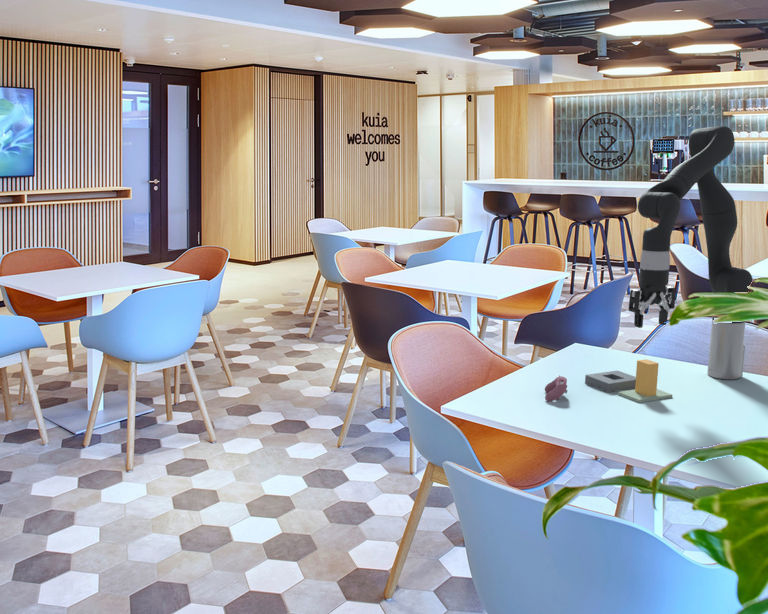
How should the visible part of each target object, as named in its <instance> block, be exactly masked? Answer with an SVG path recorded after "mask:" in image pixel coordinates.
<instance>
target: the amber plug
mask: <svg viewBox="0 0 768 614" xmlns="http://www.w3.org/2000/svg"><path fill="white" fill-rule="evenodd" d="M635 371H636V372H635V377H636V383H635V388H634V390H635V392H637V393H640V394H642V395H645V396H652V395H656V391H657V389H658V388H657V387H658V379H659V378H658V376H659V362H656V361H653V360H651V359H639V360H638V359H637V360H636V370H635Z"/></svg>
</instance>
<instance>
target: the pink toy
mask: <svg viewBox="0 0 768 614" xmlns="http://www.w3.org/2000/svg"><path fill="white" fill-rule="evenodd" d="M567 383H568V379H567V377H564V376H560V374H559V376H557V377H556V378H555V379H553V380H552V381H551V382H549V383H547V384H546V385H545V387H544V392H545V393H546V394H545V397H544V400H545V401H546V402H553V401H556V400H559V399H560V398H561V397H562V396H563V395H565V394H567V393H568V389H567V388H568V385H567Z"/></svg>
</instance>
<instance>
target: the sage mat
mask: <svg viewBox="0 0 768 614" xmlns="http://www.w3.org/2000/svg"><path fill="white" fill-rule="evenodd" d="M618 396H621V397H624V398H626V399H628V400H630V401H633V402H636V403H641V404H642V403H646V402H652V401H658V400H665V399H670V398H671V399H672V398H673V394H672V393H670V392H666V391H664V390H660V389H659V388H657V391H656V395H652V396H645V395H642V394H640V393H637V392H635V389H627V390H621V391H618Z"/></svg>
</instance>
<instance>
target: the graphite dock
mask: <svg viewBox="0 0 768 614" xmlns="http://www.w3.org/2000/svg"><path fill="white" fill-rule="evenodd" d="M635 383H636V375H635V376H634V375H631V374H629V373H626V372H623V371H620V370H611V371H604V372H597V373H590V374H585V379H584V384H586V385H588V386H591V387H594V388H597V389H599V390H602V391H604V392H606V393H612V392H621V391H627V390H634V389H635Z"/></svg>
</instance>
